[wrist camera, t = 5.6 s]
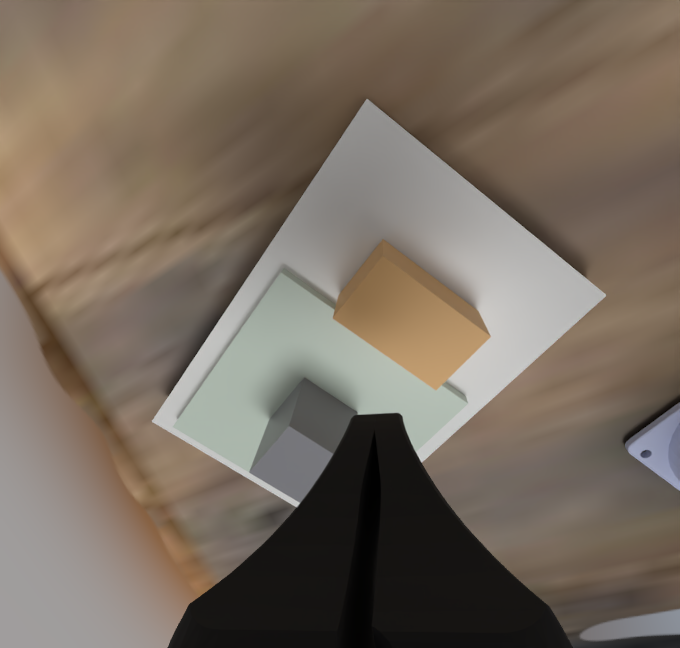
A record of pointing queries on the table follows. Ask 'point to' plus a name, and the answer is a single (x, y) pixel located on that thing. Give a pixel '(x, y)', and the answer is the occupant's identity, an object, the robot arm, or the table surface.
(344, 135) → the white layered base plate
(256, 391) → the cover
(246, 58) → the table surface
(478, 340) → the slider
